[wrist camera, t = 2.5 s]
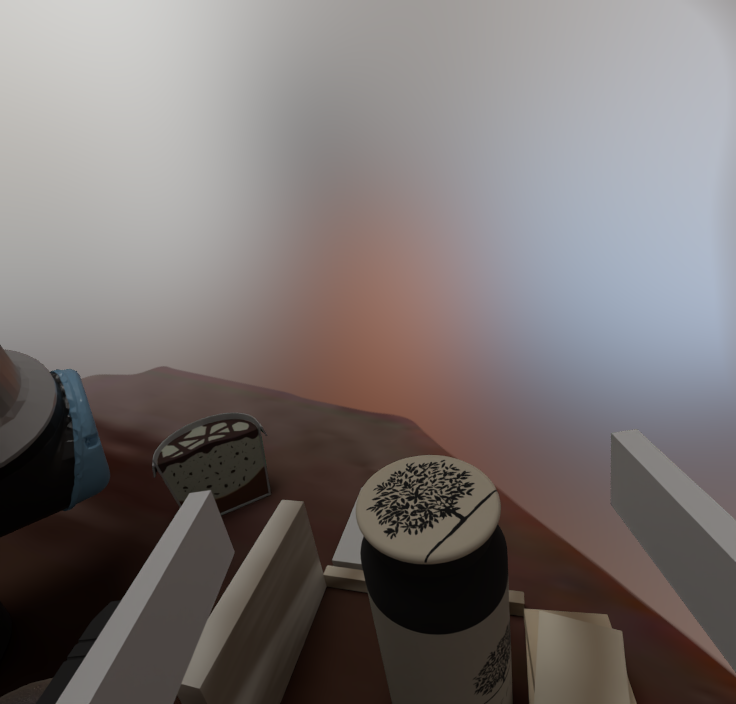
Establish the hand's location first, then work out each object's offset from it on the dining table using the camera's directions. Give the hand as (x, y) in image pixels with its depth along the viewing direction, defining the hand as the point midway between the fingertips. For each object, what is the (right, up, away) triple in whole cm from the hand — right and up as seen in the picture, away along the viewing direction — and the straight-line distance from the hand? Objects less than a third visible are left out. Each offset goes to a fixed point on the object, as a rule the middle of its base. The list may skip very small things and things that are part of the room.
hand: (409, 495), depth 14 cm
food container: (-19, -13, +39) cm, 45 cm away
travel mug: (+4, -19, +15) cm, 25 cm away
